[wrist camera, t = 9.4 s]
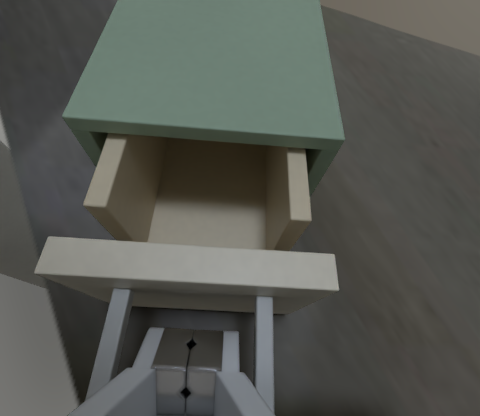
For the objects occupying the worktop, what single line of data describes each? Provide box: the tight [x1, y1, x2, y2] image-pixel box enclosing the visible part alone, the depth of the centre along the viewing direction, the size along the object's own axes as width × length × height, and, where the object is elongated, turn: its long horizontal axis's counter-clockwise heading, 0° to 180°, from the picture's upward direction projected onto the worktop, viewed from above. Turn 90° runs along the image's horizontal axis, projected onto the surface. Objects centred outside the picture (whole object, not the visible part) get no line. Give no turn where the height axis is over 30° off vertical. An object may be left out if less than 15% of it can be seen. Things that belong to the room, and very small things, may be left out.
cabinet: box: [62, 0, 345, 197], centre depth 16 cm, size 12×10×8 cm
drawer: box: [34, 133, 339, 416], centre depth 12 cm, size 16×9×7 cm, turn 178°
